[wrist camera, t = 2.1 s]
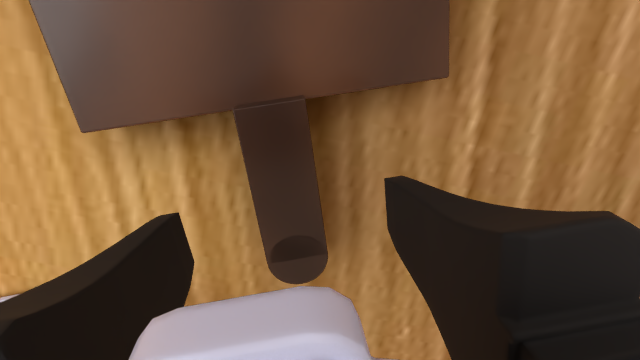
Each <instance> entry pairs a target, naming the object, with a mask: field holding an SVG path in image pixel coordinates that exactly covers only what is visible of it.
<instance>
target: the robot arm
mask: <svg viewBox="0 0 640 360" xmlns="http://www.w3.org/2000/svg"><path fill="white" fill-rule="evenodd" d="M384 181H385V196H386V211H387V226H388V231H389V234H390V236H391V239H392V241H393V244H394V246H395V248H396V251H397V253H398V254H399V256H400V258H401V260H402V261H403V263H404V265H405V266H406V268H407V270H408V271H409V273H410V275H411V276H412V278H413V280H414V282H415V283H416V285H417V287H418V288H419V290H420V292H421V293H422V295H423V297H424V299H425V300H426V302H427V304H428V306H429V308H430V310H431V313H432V315H433V317H434V319H435V322H436V324H437V326H438V328H439V331H440V333H441V335H442V338H443V340H444V342H445V345H446V347H447V349H448V352H449V354H450V357H451V359H452V360H640V299H639V297H640V229H639V228H637V227H636V226H634V225H632V224H631V223H629V222H627V221H626V220H624V219H622V218H620V217H618V216H617V215H615V214H613V213H611V212H609V211H574V212H565V211H544V210H531V209H521V208H514V207H506V206H500V205H494V204H489V203H485V202H480V201H476V200H472V199H468V198H464V197H461V196H458V195H455V194H452V193H449V192H446V191H443V190H440V189H437V188H435V187H432V186H429V185H427V184H424V183H422V182H419V181H417V180H414V179H411V178H408V177H405V176H397V177H391V178H385V179H384ZM193 268H194V259H193V256H192V253H191V250H190V247H189V244H188V240H187V237H186V234H185V231H184V228H183V225H182V222H181V219H180V216H179V212H178V213H172V214H166V215H160V216H158V217H156V218H154V219H152V220H151V221H149V222H147V223H146V224H144V225H143V226H141V227H140V228H138V229H137V230H135V231H134V232H132V233H131V234H129V235H128V236H126V237H125V238H123V239H122V240H120V241H119V242H117V243H116V244H114V245H113V246H111V247H109V248H108V249H106V250H105V251H103V252H102V253H100V254H98V255H97V256H95V257H94V258H92V259H90V260H89V261H87V262H85V263H83V264H82V265H80V266H78V267H76V268H74V269H73V270H71V271H69V272H67V273H65V274H63V275H61V276H59V277H57V278H55V279H53V280H51V281H49V282H46V283H44V284H42V285H40V286H38V287H35V288H33V289H31V290H29V291H26V292H24V293H22V294H16V295H11V296H5V297H0V360H398V359H385V358H374V357H372V356H371V355H370V352H369V348H368V345H367V341H366V338H365V334H364V331H363V327H362V324H361V320H360V318H359V316H358V314H357V311H356V309H355V307H354V305H353V303H352V301H351V299H349V298H347V297H345V296H344V295H342V294H340V293H338V292H337V291H335V290H333V289H331V288H329V287H309V286H299V287H293V288H288V289H282V290H276V291H271V292H265V293H260V294H254V295H248V296H243V297H237V298H231V299H226V300H220V301H215V302H209V303H203V304H198V305H192V306H186V307H184V304H185V301H186V298H187V295H188V292H189V289H190V285H191V280H192V275H193Z"/></svg>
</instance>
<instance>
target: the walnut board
mask: <svg viewBox="0 0 640 360" xmlns="http://www.w3.org/2000/svg"><path fill="white" fill-rule="evenodd" d="M29 2H30V5H31V7H32V10H33V12H34V15H35V17H36V20H37V22H38V25H39V27H40V30H41V32H42V35H43V37H44V40H45V42H46V45H47V47H48V50H49V52H50V55H51V57H52V60H53V62H54V65H55V67H56V70H57V73H58V75H59V78H60V80H61V83H62V85H63V88H64V90H65V93H66V95H67V98H68V100H69V103H70V105H71V108H72V110H73V113H74V115H75V118H76V120H77V123H78V125H79V128H80V130H81V132H82V133H88V132H95V131H101V130H108V129H114V128H121V127H127V126H134V125H140V124H147V123H154V122H160V121H167V120H173V119H180V118H186V117H193V116H199V115H206V114H212V113H219V112H226V111H232V110H233V114H234V118H235V123H236V127H237V131H238V136H239V140H240V145H241V149H242V154H243V158H244V162H245V167H246V171H247V176H248V180H249V185H250V189H251V193H252V198H253V202H254V207H255V211H256V216H257V220H258V224H259V229H260V233H261V238H262V242H263V247H264V251H265V255H266V260H267V264H268V267H269V269H270V271H271V273H272V274H273V275H274V276H275V277H276V278H277V279H279V280H281V281H283V282H286V283H290V284H303V283H307V282H309V281H311V280H313V279H315V278H317V277H318V276H319V275H320V274H321V273H322V272H323V270H324V269H325V267H326V264H327V261H328V252H327V245H326V238H325V232H324V225H323V218H322V211H321V204H320V197H319V190H318V184H317V177H316V170H315V163H314V156H313V149H312V142H311V135H310V129H309V122H308V115H307V108H306V101H305V99H311V98H317V97H324V96H330V95H337V94H343V93H350V92H356V91H363V90H370V89H376V88H383V87H389V86H396V85H402V84H409V83H415V82H422V81H428V80H435V79H442V78H447V77H448V76H449V0H29Z"/></svg>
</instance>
